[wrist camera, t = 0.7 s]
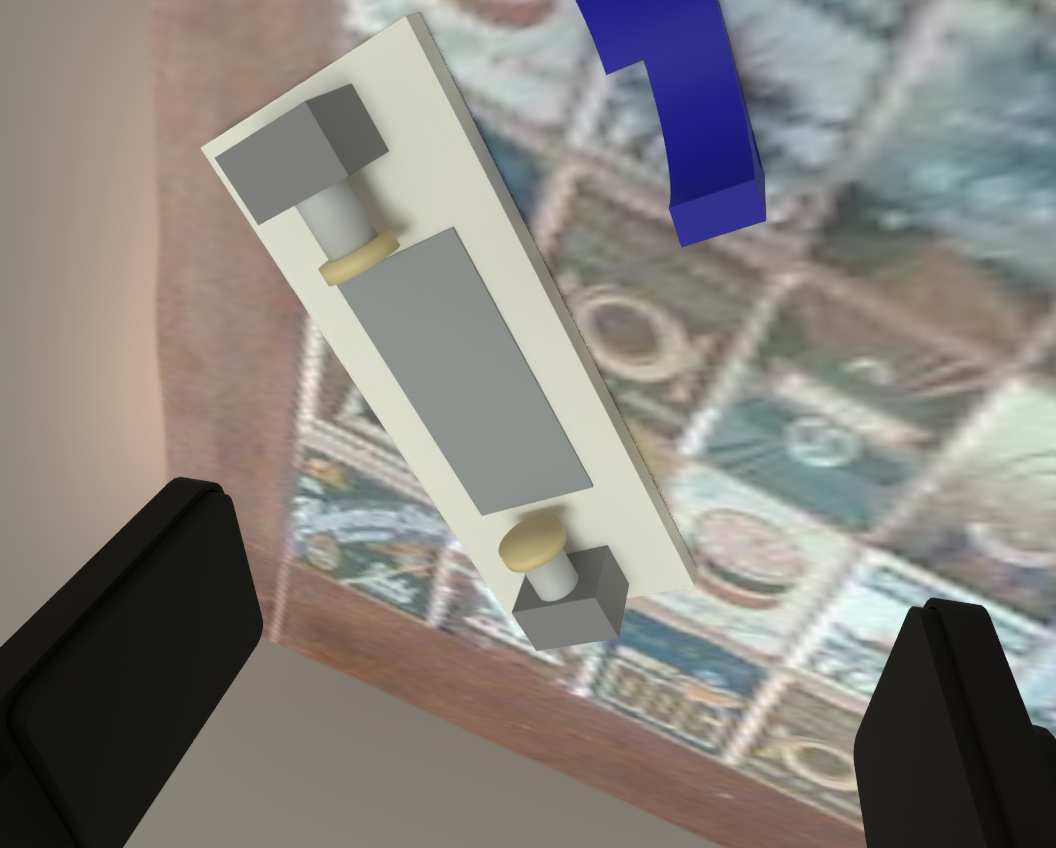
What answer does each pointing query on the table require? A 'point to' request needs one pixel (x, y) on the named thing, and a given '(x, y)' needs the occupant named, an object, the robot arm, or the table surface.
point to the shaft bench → (455, 332)
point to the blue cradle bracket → (689, 107)
